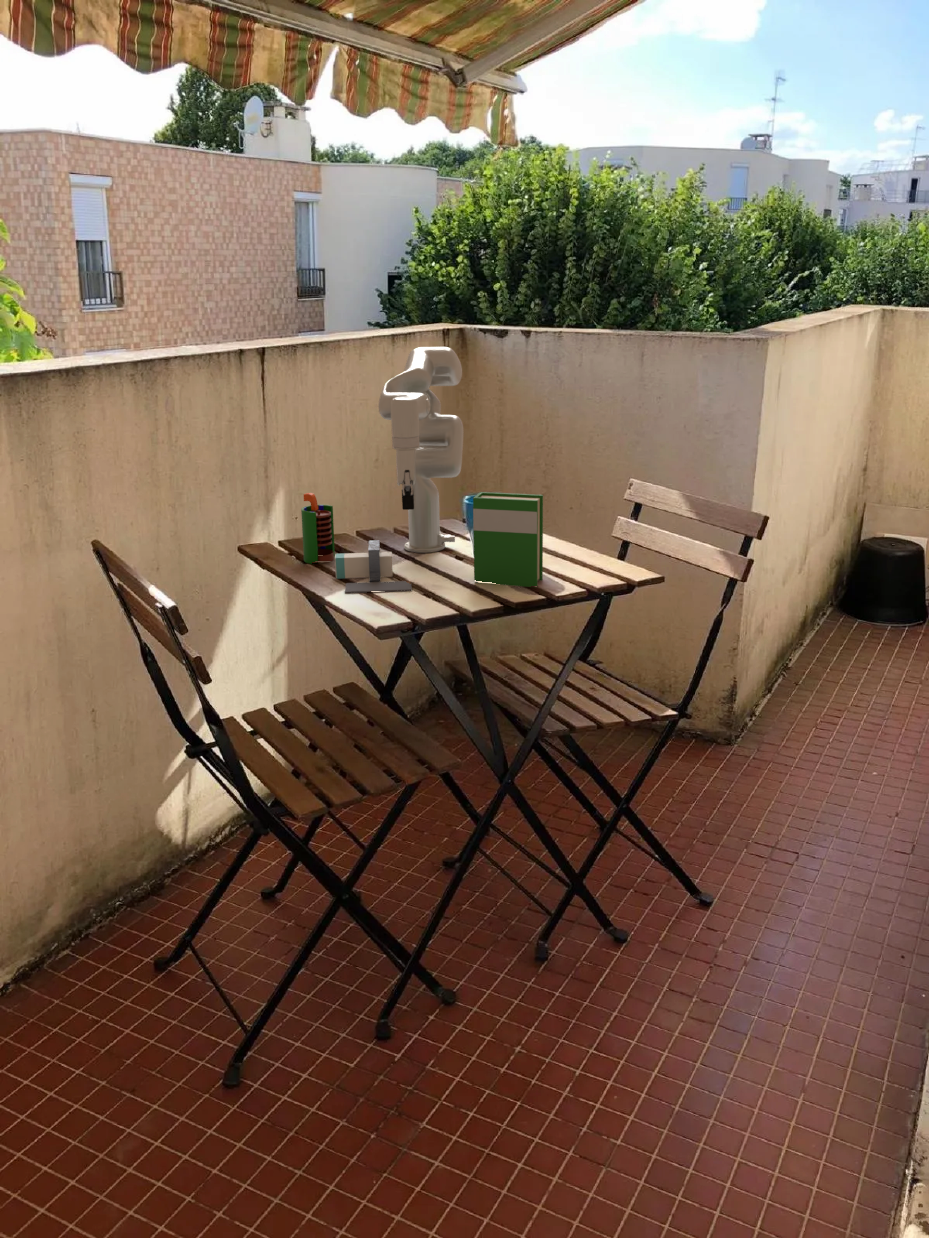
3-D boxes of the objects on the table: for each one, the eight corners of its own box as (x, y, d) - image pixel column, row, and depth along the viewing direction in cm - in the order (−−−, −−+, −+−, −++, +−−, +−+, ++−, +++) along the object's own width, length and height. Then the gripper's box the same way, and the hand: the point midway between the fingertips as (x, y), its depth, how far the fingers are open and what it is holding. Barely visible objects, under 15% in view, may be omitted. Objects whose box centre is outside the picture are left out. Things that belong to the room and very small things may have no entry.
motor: (327, 564, 324) (323, 498, 317) (299, 563, 326) (294, 497, 319) (338, 555, 333) (334, 490, 327) (310, 554, 335) (306, 490, 328)
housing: (380, 566, 321) (379, 537, 318) (380, 582, 306) (379, 552, 303) (370, 566, 321) (369, 537, 318) (369, 583, 306) (368, 553, 303)
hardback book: (542, 579, 306) (543, 494, 298) (536, 587, 299) (537, 500, 292) (481, 575, 311) (480, 492, 303) (474, 582, 304) (473, 497, 296)
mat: (411, 582, 305) (411, 580, 305) (411, 591, 298) (411, 589, 298) (346, 584, 304) (345, 583, 304) (344, 593, 297) (344, 591, 297)
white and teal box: (392, 572, 316) (391, 551, 314) (392, 576, 311) (391, 555, 310) (336, 574, 315) (335, 553, 313) (335, 578, 310) (334, 558, 308)
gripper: (392, 437, 310) (394, 500, 316) (392, 448, 293) (394, 514, 299) (418, 437, 310) (420, 499, 316) (420, 447, 294) (422, 513, 300)
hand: (408, 505), depth 308 cm, fingers open, 6 cm apart
